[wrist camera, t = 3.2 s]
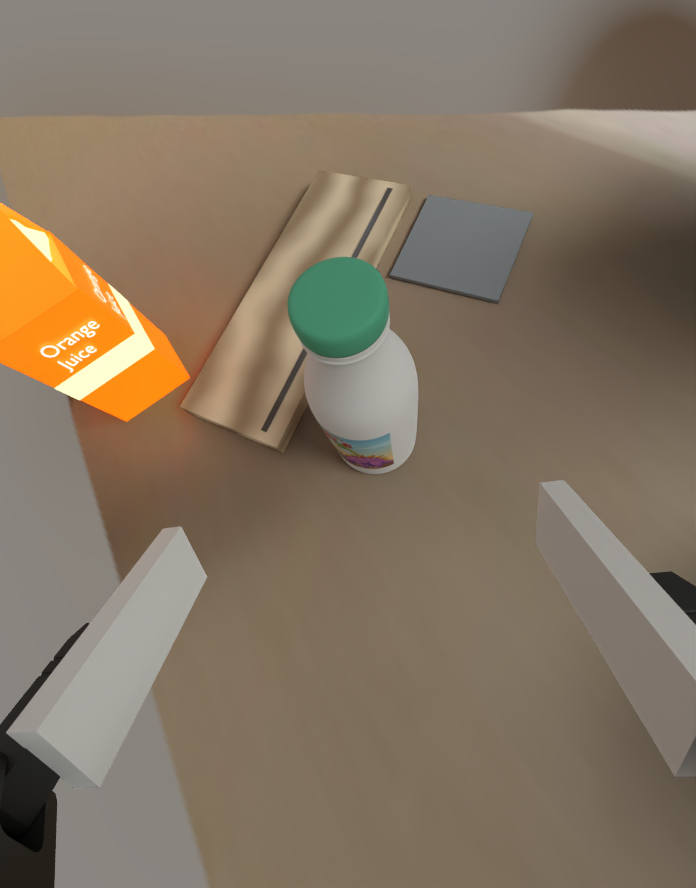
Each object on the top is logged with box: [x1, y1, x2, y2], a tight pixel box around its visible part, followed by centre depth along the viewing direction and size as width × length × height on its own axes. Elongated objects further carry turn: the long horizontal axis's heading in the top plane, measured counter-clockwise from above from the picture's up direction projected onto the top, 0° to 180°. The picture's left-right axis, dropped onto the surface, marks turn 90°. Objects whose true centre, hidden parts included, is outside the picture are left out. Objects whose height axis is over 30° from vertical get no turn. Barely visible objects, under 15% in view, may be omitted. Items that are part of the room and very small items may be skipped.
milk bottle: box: [287, 257, 418, 474], centre depth 25 cm, size 8×8×20 cm
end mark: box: [390, 195, 533, 303], centre depth 39 cm, size 12×12×1 cm
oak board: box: [180, 171, 410, 453], centre depth 39 cm, size 12×34×2 cm, turn 155°
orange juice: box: [0, 203, 190, 422], centre depth 32 cm, size 8×9×20 cm
